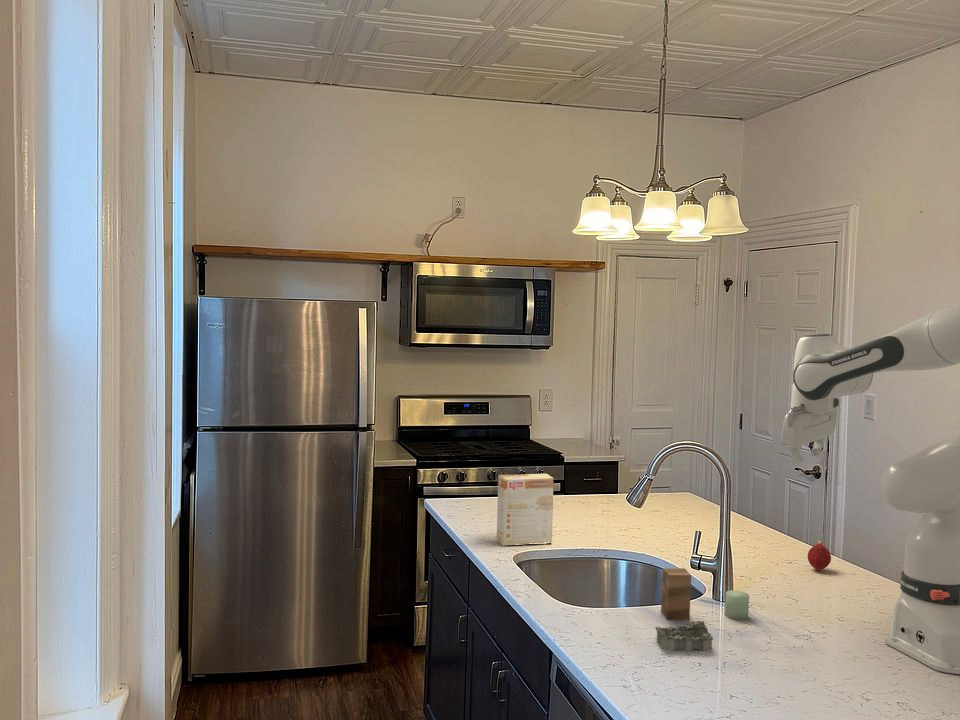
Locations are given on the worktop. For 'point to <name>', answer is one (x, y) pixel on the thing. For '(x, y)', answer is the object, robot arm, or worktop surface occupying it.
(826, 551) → the onion
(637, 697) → the worktop surface
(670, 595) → the block mid
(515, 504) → the coffeecake box
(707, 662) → the worktop surface
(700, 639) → the egg carton
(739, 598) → the pale green cylinder
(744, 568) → the worktop surface
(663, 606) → the block low
